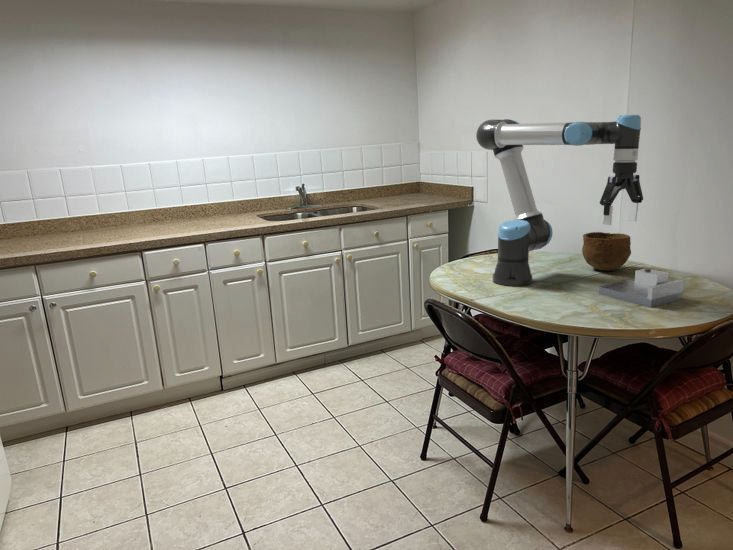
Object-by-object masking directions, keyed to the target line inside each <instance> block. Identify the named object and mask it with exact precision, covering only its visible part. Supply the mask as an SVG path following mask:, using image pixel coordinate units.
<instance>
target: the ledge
mask: <svg viewBox="0 0 733 550" xmlns="http://www.w3.org/2000/svg"><path fill="white" fill-rule="evenodd" d="M634 281H635V280H633V279H628V280H627V279H626V280H622V281H619V282H614V283H610V284H606V285H605V284H604V285H601V286H598V294H599V295H603V296H606V297H611V298H613V299H614V298H615V299H618V300H622V301H626V302H629V303H632V304H637V305H640V306H644V307H649V308H654V307H657V306H660V305H664V304H669V303H672V302H675V301H680V300H682V299H683V292H684V287H685V286H684V285H685V284H684V283H685V280H684V279H677V280H676V279H675V280H672V281H668V282H667V283H663V284H659V285H655V286H651V287H648V294H647V293H643V292H638V291H634Z"/></svg>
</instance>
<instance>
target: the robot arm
mask: <svg viewBox="0 0 733 550" xmlns="http://www.w3.org/2000/svg"><path fill="white" fill-rule="evenodd" d="M641 123H642V118H641V116H640V115H639V114H621V115H618V116H617V117H616V120H615V121H600V122H599V121H594V122H593V121H591V122H589V121H588V122H587V121H575V122H546V123H545V122H544V123H543V122H541V123H540V122H539V123H537V122H536V123H520V122H518V121H517V120H514V119H509V118H508V119H507V118H504V119H488V120H486V121H483V122H482V123H480V125H479V126H478V128H477V130H476V133H475V135H476V141H477V143H478V145H479V146H481V148H482V149H485V150H491V151H493V155H494V158H495V159H497V160H499V162H500V166H501V168H502V169H501V170H502V173H503V177H504V179H505V183H506V187H507V189H508V194H509V197H510V201H511V205H512V207H513V212H514V215H515V217H514V220H507V221H504V222H502V223H501V224H499V227H498V233H497V238H498V239H497V262H496V265H495V269H494V272H493V273H492V282H493V283H494V284H497V285H501V286H507V287H508V286H510V287H520V286H521V287H522V286H527V285H530V284H532V283H533V275H532V271H531V268H530V264H529V258H530V257H529V255H530V252H532V251H537V250H540V249H542V248H545V247H546V246H547V245H549V243H550V241H552V238H553V227H552V224H550V223H549V222H548V221H547V220H546V219H545V218H544V215H543V213H542V212H541V211H539V210H538V209H537V205H536V202H535V199H534V196H533V190H532V188H531V185H530V180H529V177H528V173H527V171H526V167H525V162H524V160H523V156H522V151H523V150H524V146H561V145H562V146H573V147H574V146H576V147H577V146H585V145H589V146H590V145H614V147H613V148H614V149H613V159H612V160H613V164H612V173H613V174H614V176H608V177H607V182H606V185H605V188H604V191H603V193H602V195H601V198H600V200H599V204H600V205H601V206H603V221H602V224H603V225H607V226H612V222H613V221H612V220H613V211H614V209H613V208H614V207H613V206H614V205H613V204H614V201H615V199H616V198H617V196H618V195H619V192H621V191H622V190H625V191H626V193H627V195H628V197H629V198H630V201H631V202H629V208H628V220H627V221H629V222H637V218H638V211H639V204H641V203H642V202H643V201H644V196H643V191H642V190H643V189H642V187H641V186H642V185H641V182H640V181H641V180H640V175H639V174H636V173H637V170H638V163H637V161H638V157H639V147H640V138H641V136H640V135H641V130H642V127H641V125H642V124H641Z"/></svg>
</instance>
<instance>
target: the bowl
mask: <svg viewBox="0 0 733 550" xmlns="http://www.w3.org/2000/svg"><path fill="white" fill-rule="evenodd" d="M582 237H583V245H582V248H581V253H582V256H583V259H584V260H585V262H586V264H587V265H589V266H590V267H592V268H593V269H595V270H599V271H604V272H605V271H606V272H607V271H615V270H618V269H620V268H621V267H623V265H625V264H626V263H627V261H628V260H629V258H630V256H631V255H632V249H631V244H632V243H631V236H630V235H628V234H625V233H619V232H618V233H610V232H604V231H603V232H602V231H595V232H593V231H592V232H586V233H584V234H583V235H582Z"/></svg>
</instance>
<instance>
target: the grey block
mask: <svg viewBox="0 0 733 550" xmlns="http://www.w3.org/2000/svg"><path fill="white" fill-rule="evenodd" d="M669 275H670V273H669V272H667V271H662V270H658V269H652V268H647V267H646V268H642V269H637V270H635V273H634V280H633V281H634V291H638V292H643V293H647V294H648V287H651V286H655V285H659V284H663V283H667V282H669Z"/></svg>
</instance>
